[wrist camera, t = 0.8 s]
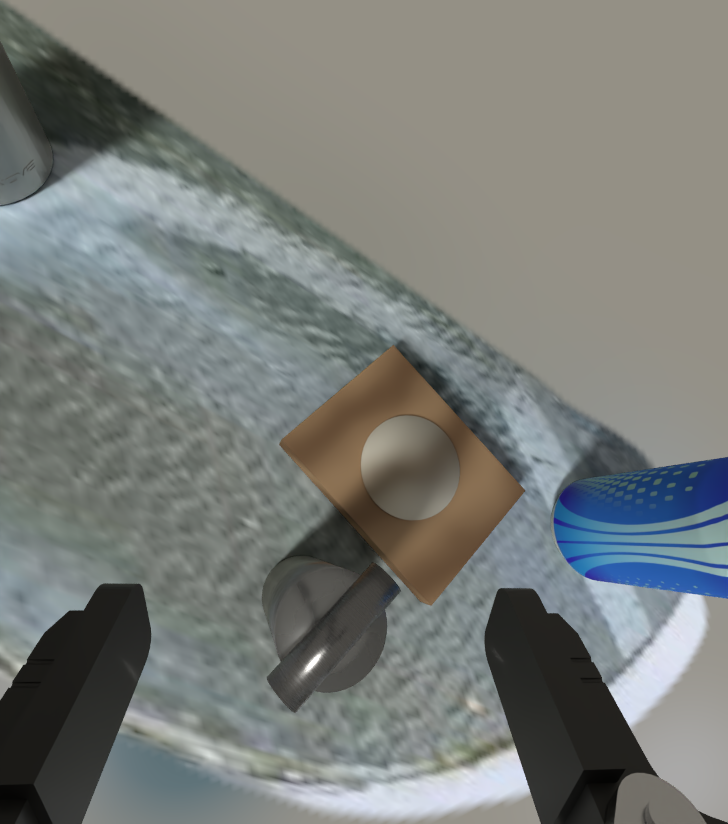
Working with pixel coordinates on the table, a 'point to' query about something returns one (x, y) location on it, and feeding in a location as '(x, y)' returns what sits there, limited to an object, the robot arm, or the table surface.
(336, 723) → the table surface
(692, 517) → the beer can
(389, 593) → the grey cylinder
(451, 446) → the block
